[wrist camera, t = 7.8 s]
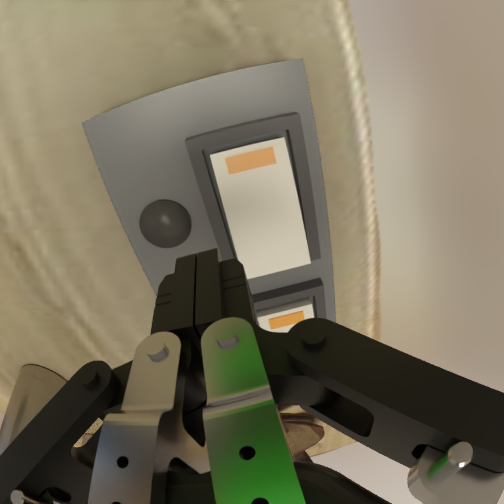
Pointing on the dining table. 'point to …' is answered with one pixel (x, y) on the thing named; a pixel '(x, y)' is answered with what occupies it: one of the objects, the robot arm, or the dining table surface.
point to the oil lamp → (301, 434)
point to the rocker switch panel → (202, 173)
